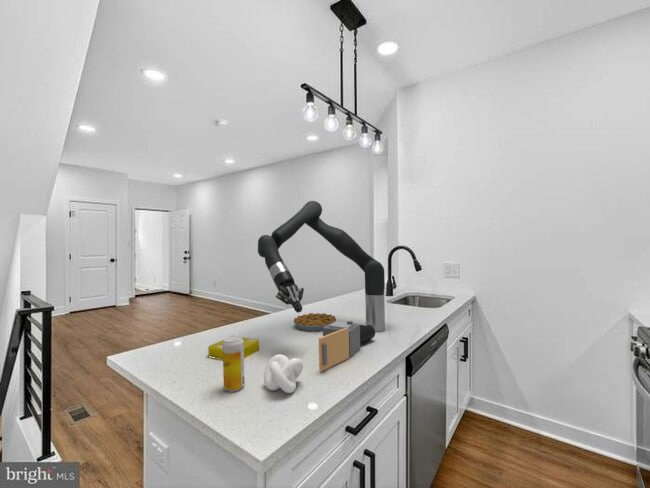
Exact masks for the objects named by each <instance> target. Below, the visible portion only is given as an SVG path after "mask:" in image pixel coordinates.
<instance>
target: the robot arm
mask: <svg viewBox="0 0 650 488" xmlns="http://www.w3.org/2000/svg"><path fill="white" fill-rule="evenodd" d="M322 213H323V207H322V205H321V204H320V203H319V202H318V201H317V200H309V201H308V202H306V203H305V204H304V205H303V206H302V208H301V209H300V210H299V211H298V212H297V213H295V214H294V215H293V216H292V217H290V219H288V220H287V221H286V222H284V223H283V224H281V225H280V226H279V227H277V228H275V229H274V230H273V232H272V233H271V235H268V234H263V235H261V236H260V237H259V238H258V241H257V253H258V255H259V257H261V258H264V261H265V266H266V268H267V269H268V272H269V275H270V277H271V278H272V280H273V282H274V285H275V287H276V289H277V291H278V292H277V293H276V294H275V298H277V299H278V300H279V301H281V302H282V303H284V304H285V305H287V306H288V305H290V306H292V308H293V309H294V312H296V313H301V312H302V311H303V306H302V304H301V300H303V297H304V296H303V295H304V292H305V291H304V290H305V289H304V287H301V288H300V287H298V285H297V284H296V283H295V279H294V277H293V275H292V273H291V271H290V269H289V268H288V267H287V265H286V263H285V262H284V260H283V258H282V257H281V254H280V251H279V249H280V248H281V246H283V244H284V243H286V242H287V241H288V240H289V239H291V238H292V237H293V236H294V235H295V234H297V232H298V231H299V230H300V229H301V228H302V227H303V226H304V225H307V226H308V227H309V228H311V229H312V230H314V231H315V232H316V233H317V234H319V235H320V236H321V237H322V238H324V239H325V240H326V241H327V242H329V244H331V245H332V247H334V248H335V249H336V250H337V251H338V252H339V253H340V254H341V255H343V256H344V257H346V258H347V259H348V260H351V261H352V262H353V263H355V265H357V266H358V267H359V268H360V269H361V270H362V271H363V272H364V294H365V295H364V297H365V298H364V299H365V300H364V301H365V326H367V325H371V326H373V328H374V330H375V333H378V332H384V331H385V330H386V315H385V314H386V313H385V312H386V309H385V307H386V305H385V289H386V288H385V286H386V285H385V279H386V278H385V268H384V266H383V264H382V263H381V262H380V261H378V260H376V259H375V258H373V256H370V255H369V254H368V253H367V252H366V251H364V249H363V248H362V247H361V246H360V245H359V244H358V242H357V241H355V239H353V238H352V237H351V236H350V235H349V234H348V233H347V232H346V231H344V229H341V228H339V227H336V226H332V225H329V224H327V223H326V222H324V221H323V219H322V218H320V217H321V215H322Z"/></svg>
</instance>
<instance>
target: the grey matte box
mask: <svg viewBox="0 0 650 488" xmlns="http://www.w3.org/2000/svg"><path fill="white" fill-rule="evenodd" d="M360 325H361V324H357V323H355V322H353V321H352V320H348V321H340V320H336V322H335V321H334V322H332V323H330V324H329V325H327V326H325V327H323V331H322V337H323V336H325V335H328V334H331V333H333V332H336V331H339V330H341V329H344V328H349V358H348V359H351V358H352V357H354V356H355V355H356V354H357V353H358V352H359V351H360V350H361V344H360Z"/></svg>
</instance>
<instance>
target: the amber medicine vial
mask: <svg viewBox="0 0 650 488" xmlns="http://www.w3.org/2000/svg"><path fill="white" fill-rule="evenodd" d="M242 337H243V336H239V335H232V337H231V336H228V337H226V338H224V339H223V340H224V341H223V360H222V367H223V369H222V372H223V373H222V374H223V376H222V378H223V389H225V391H226V390H227V391H226V392H228V391H229V393H233V392H234V393H235V392H239V391H241V390H242V389H243V388H244V386H245V385H246V384H245V381H246V380H245V358H244V345H243V340H242ZM240 389H241V390H240ZM238 390H239V391H238Z"/></svg>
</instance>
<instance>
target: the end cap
mask: <svg viewBox="0 0 650 488" xmlns="http://www.w3.org/2000/svg"><path fill="white" fill-rule="evenodd" d="M374 337H376V332H375V330H374V328H373V326H371V325H367V326H366V325H363V324H360V345H361V344H364V343H366V342H367V343H368V341H371V340H372V339H374Z"/></svg>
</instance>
